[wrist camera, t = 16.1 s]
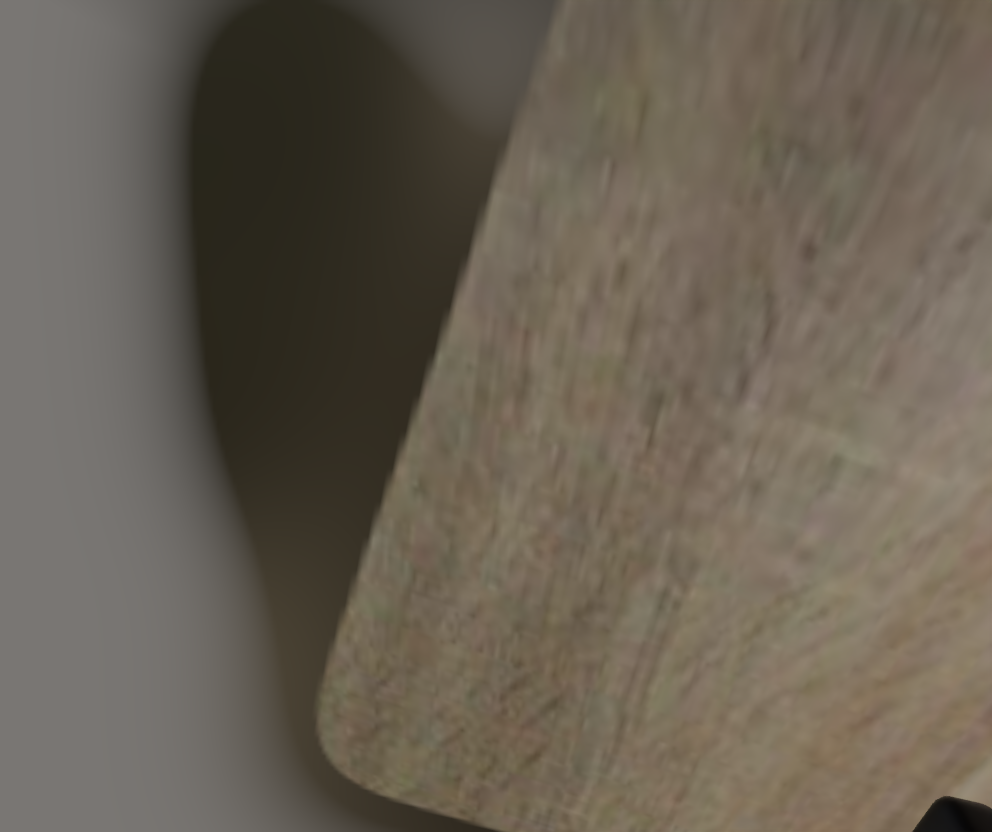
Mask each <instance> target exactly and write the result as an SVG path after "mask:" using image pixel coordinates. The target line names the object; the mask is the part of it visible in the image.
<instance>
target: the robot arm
mask: <svg viewBox="0 0 992 832" xmlns="http://www.w3.org/2000/svg"><path fill="white" fill-rule="evenodd" d="M912 832H992V809H991V808H990V807H988V806H986V805H984V804H981V803H977V802H973V801H968V800H964V799H959V798H955V797H950V796H944V797H941V798H939V799H937V800H936V801H935V802H934V803H933V804H932V805H931V807H930V808H929V809H928V811H927V812H926V813H925V815H924V816H923V818H922V819H921V820H920V822H919V823H918V825H917V826H916V827H915V829H914V830H913V831H912Z"/></svg>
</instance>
